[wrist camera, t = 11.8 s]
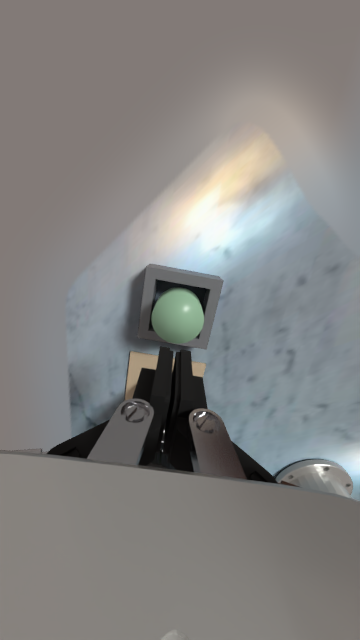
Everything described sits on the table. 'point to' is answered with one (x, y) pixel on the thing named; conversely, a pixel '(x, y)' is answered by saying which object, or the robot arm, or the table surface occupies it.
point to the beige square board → (150, 362)
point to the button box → (180, 277)
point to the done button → (177, 315)
